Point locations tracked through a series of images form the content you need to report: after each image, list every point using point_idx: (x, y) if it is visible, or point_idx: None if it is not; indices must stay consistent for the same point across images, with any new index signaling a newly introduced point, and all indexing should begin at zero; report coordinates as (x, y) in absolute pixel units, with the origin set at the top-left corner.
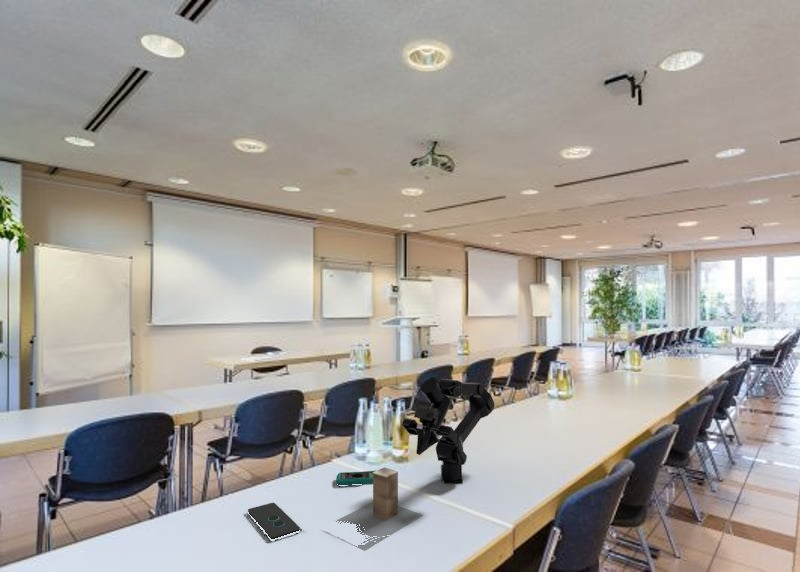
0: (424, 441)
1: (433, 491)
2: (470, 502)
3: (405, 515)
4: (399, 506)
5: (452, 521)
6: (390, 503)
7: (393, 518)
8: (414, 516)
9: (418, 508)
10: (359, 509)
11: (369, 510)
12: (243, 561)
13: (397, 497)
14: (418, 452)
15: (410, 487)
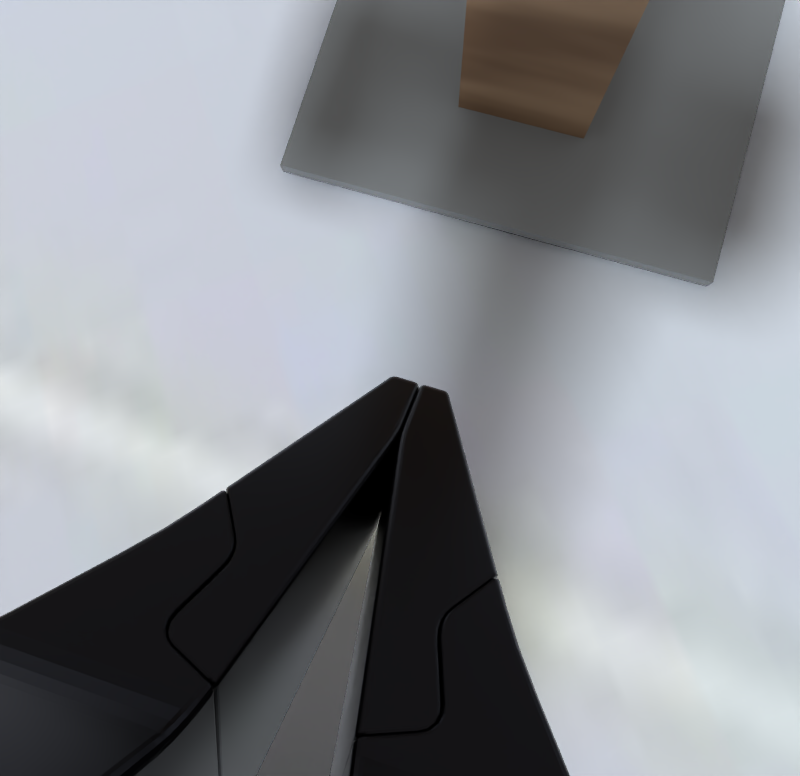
0: (202, 537)
1: (350, 634)
2: (13, 529)
3: (399, 107)
4: (498, 221)
5: (83, 185)
6: None
7: (461, 39)
8: (334, 119)
9: (362, 278)
10: (759, 62)
11: (680, 78)
12: None
13: (466, 10)
14: (392, 381)
15: (575, 646)
